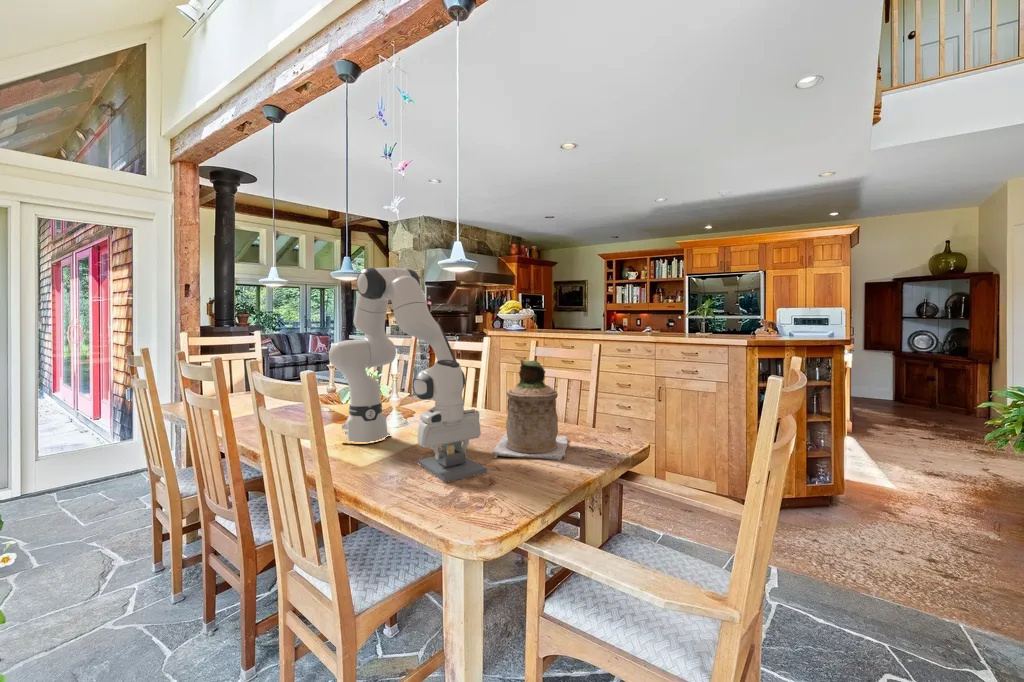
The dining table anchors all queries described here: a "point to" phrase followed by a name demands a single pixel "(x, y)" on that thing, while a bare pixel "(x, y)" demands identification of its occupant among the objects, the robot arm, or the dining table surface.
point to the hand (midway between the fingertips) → (450, 456)
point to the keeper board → (452, 467)
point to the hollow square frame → (452, 457)
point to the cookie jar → (532, 418)
